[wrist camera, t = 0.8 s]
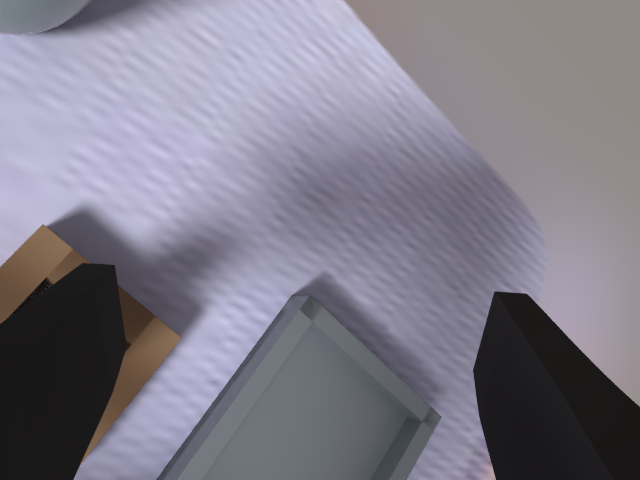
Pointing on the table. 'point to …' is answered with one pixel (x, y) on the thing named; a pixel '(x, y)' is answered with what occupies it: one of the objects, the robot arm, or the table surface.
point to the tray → (308, 410)
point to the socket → (139, 324)
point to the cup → (37, 14)
